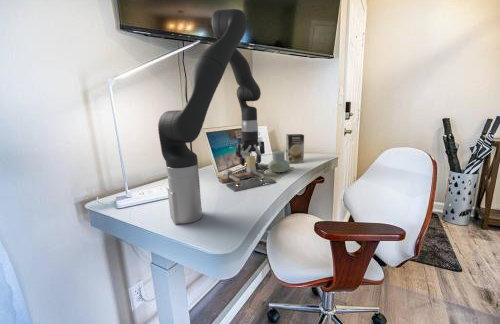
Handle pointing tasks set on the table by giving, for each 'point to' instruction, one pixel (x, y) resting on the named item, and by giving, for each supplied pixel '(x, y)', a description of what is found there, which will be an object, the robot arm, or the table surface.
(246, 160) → the watch
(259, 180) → the bolt plate
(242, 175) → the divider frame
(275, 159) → the air freshener
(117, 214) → the table surface
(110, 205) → the table surface
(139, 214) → the table surface
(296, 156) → the coffee box
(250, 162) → the sliding leg
